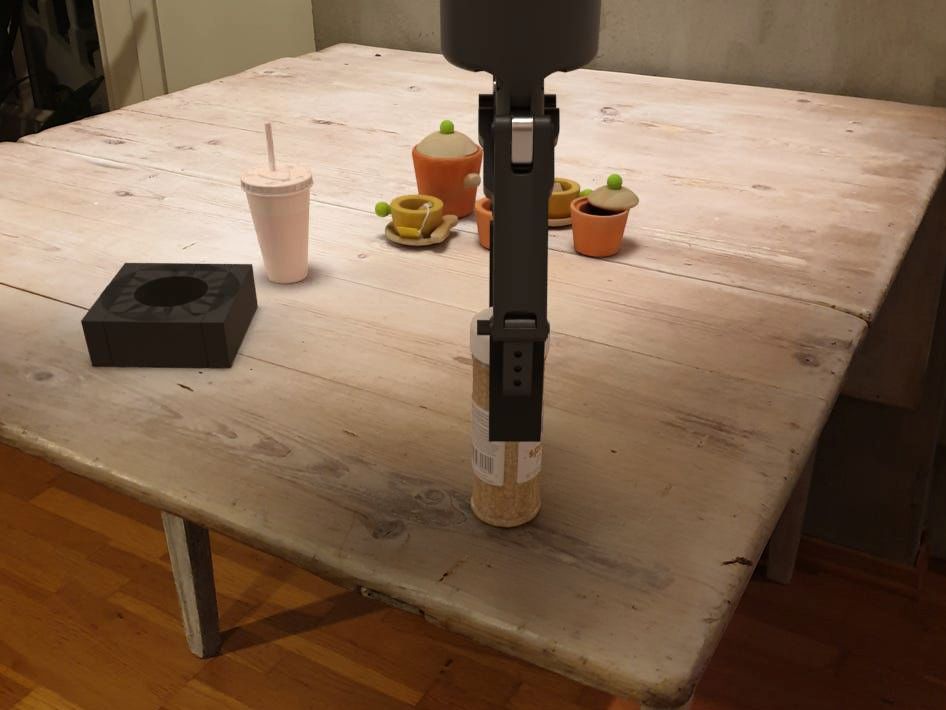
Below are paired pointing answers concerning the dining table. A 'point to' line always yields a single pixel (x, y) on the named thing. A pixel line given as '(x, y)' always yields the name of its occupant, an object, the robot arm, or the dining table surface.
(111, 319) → the socket pad
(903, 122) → the dining table surface
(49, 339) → the dining table surface
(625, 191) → the toy tea set
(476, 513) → the sprinkles bottle
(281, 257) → the smoothie
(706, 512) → the dining table surface
